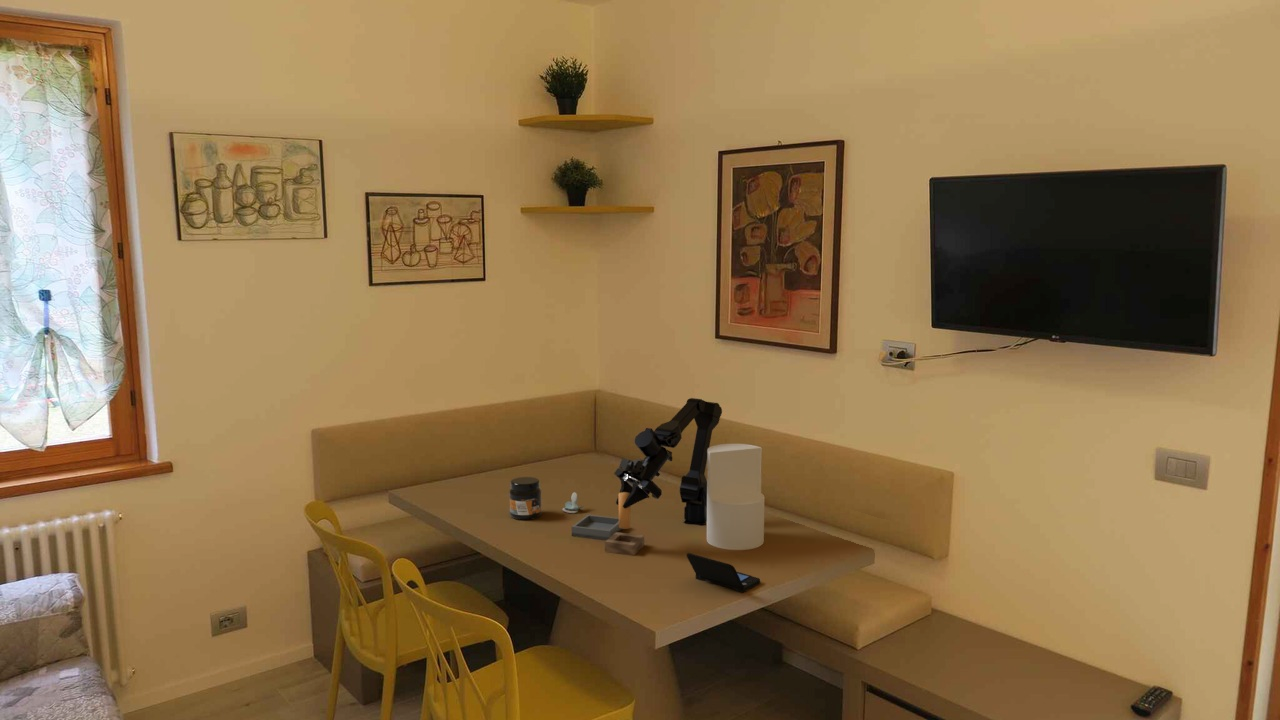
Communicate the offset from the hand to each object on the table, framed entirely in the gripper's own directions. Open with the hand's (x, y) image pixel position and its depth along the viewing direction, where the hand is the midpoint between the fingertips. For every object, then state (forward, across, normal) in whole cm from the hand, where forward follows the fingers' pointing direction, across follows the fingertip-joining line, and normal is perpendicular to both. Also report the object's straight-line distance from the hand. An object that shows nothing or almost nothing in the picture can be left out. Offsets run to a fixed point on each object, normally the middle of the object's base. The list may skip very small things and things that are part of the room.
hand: (620, 505), depth 259 cm
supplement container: (+17, -44, +2) cm, 47 cm away
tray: (+8, -17, +11) cm, 22 cm away
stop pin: (+4, 0, +6) cm, 7 cm away
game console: (+3, +37, +17) cm, 40 cm away
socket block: (+8, 0, +10) cm, 13 cm away
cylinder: (-14, +12, +33) cm, 38 cm away
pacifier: (+6, -40, +13) cm, 43 cm away
